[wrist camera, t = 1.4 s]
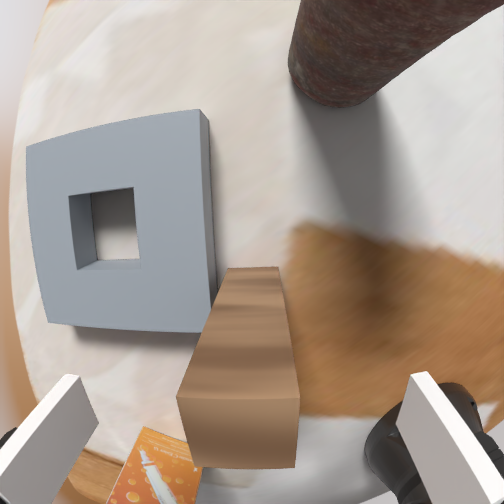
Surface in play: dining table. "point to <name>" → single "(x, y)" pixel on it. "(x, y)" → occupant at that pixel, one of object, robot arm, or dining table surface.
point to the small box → (157, 472)
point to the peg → (243, 378)
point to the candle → (369, 42)
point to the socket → (147, 222)
